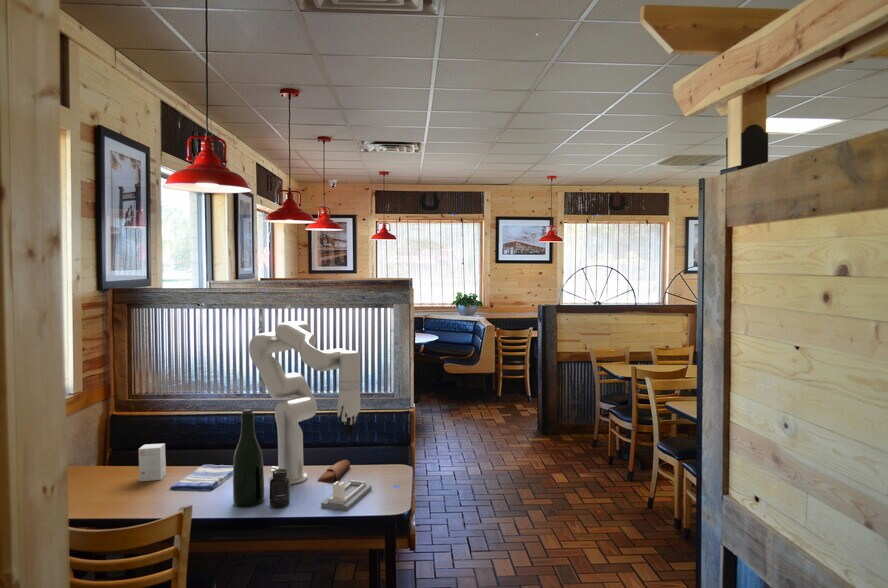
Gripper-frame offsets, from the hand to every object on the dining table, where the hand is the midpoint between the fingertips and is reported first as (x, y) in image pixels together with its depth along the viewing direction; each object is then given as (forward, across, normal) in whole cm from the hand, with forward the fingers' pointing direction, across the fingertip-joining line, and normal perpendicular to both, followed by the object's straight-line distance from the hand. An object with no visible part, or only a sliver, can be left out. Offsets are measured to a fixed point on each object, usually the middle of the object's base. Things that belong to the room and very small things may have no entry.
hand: (349, 434), depth 204 cm
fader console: (+22, +3, +1) cm, 22 cm away
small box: (+23, +7, -83) cm, 87 cm away
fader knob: (+20, +10, +1) cm, 23 cm away
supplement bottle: (+22, +16, -19) cm, 33 cm away
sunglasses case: (+23, -17, -16) cm, 33 cm away
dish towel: (+23, +2, -62) cm, 66 cm away
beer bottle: (+22, +17, -31) cm, 42 cm away
